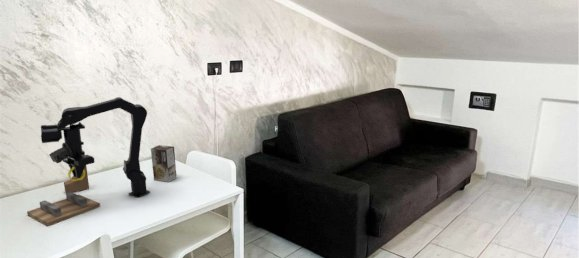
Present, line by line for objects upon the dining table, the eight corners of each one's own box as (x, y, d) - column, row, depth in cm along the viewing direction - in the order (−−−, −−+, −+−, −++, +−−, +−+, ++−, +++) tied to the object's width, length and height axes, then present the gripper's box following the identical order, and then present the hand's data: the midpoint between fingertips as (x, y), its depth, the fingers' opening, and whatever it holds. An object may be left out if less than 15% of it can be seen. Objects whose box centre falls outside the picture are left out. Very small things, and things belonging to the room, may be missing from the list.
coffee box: (177, 177, 186) (174, 146, 183) (169, 182, 180) (166, 150, 177) (161, 175, 189) (159, 144, 185) (153, 180, 183) (150, 148, 180)
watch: (83, 178, 157) (83, 164, 156) (86, 179, 155) (85, 165, 154) (67, 180, 153) (67, 166, 152) (70, 182, 151) (69, 168, 150)
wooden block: (67, 194, 167) (61, 155, 163) (64, 191, 170) (59, 152, 166) (89, 188, 173) (84, 151, 169) (86, 186, 176) (81, 148, 172)
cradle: (100, 206, 155) (98, 196, 154) (47, 226, 139) (46, 215, 138) (79, 197, 163) (77, 187, 162) (27, 215, 147) (25, 204, 146)
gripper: (39, 140, 149) (44, 178, 152) (63, 148, 139) (68, 188, 142) (69, 135, 158) (73, 170, 161) (93, 142, 148) (97, 180, 151)
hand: (77, 177), depth 154 cm, fingers closed on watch, 2 cm apart
